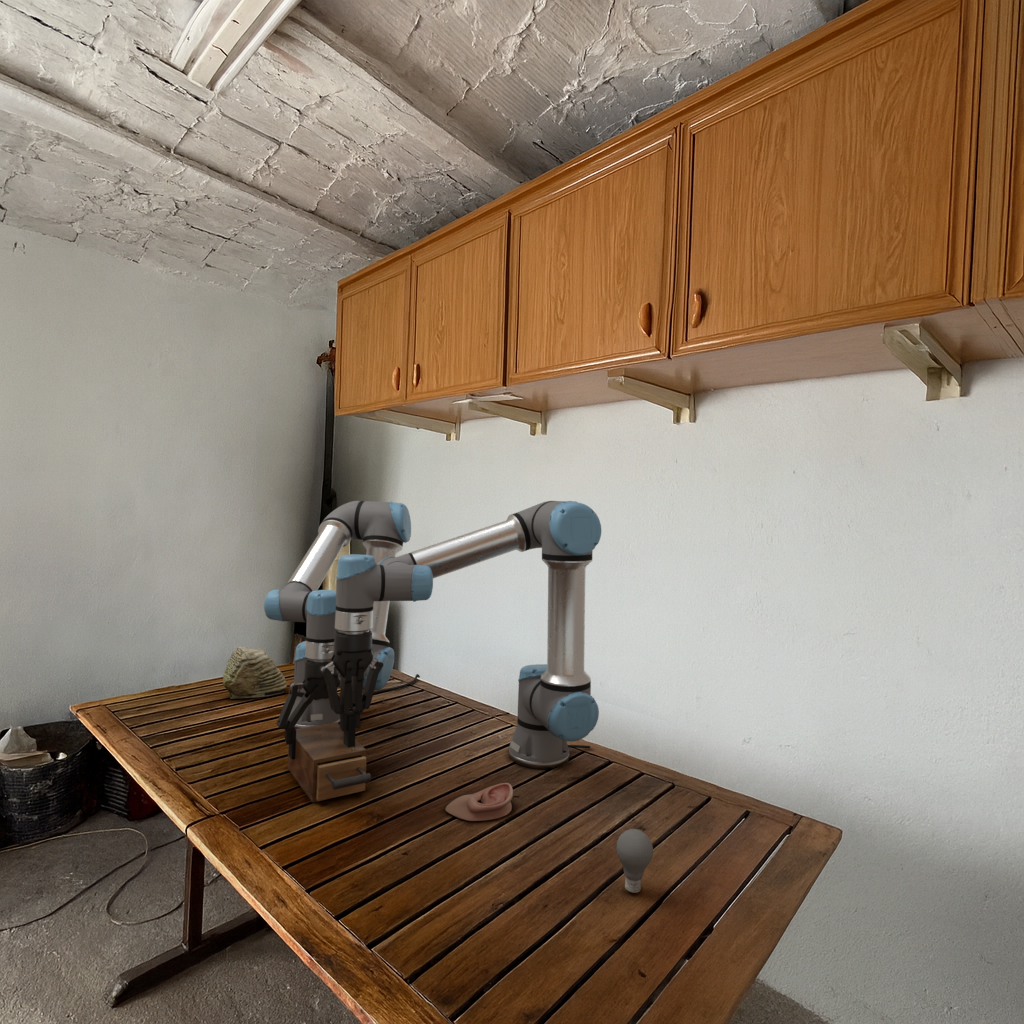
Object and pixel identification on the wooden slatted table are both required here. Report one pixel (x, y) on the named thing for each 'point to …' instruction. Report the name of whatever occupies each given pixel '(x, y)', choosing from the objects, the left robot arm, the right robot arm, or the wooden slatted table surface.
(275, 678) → the fossil
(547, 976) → the wooden slatted table surface
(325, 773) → the drawer
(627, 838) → the light bulb
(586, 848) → the wooden slatted table surface
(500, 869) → the wooden slatted table surface
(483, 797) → the anatomical model
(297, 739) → the cabinet
